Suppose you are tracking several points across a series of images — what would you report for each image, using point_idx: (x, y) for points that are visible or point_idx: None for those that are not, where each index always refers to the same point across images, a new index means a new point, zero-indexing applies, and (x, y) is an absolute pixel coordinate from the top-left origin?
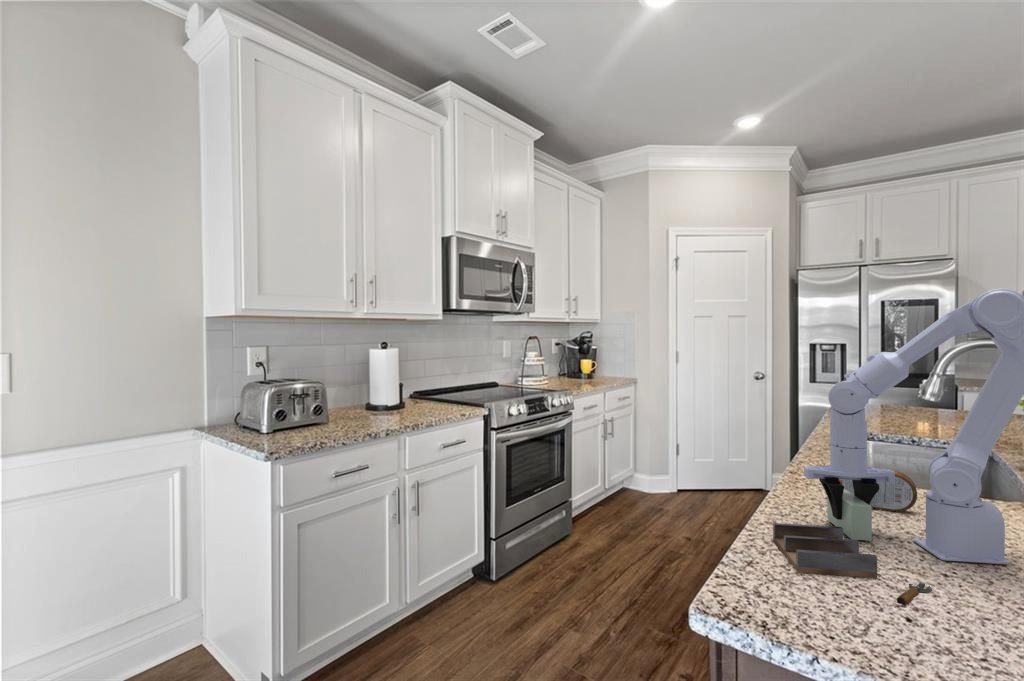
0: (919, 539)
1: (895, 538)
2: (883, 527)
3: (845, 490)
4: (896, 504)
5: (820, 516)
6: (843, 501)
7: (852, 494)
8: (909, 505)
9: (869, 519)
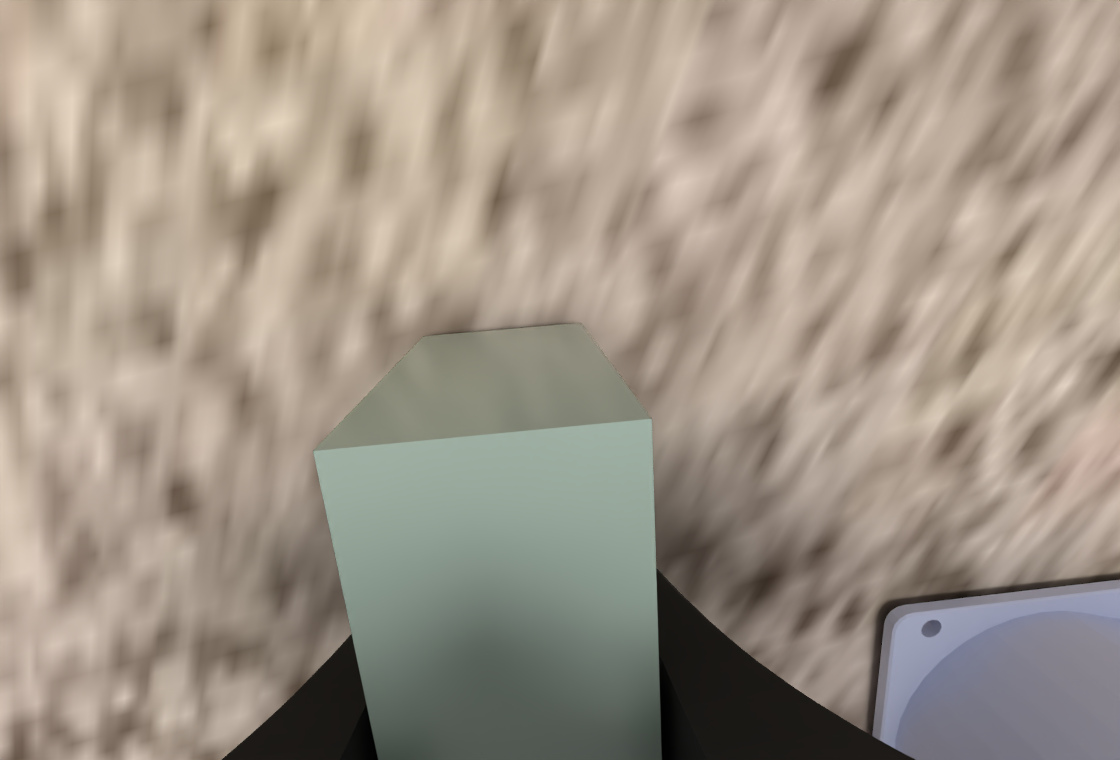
0: (929, 618)
1: (801, 574)
2: (839, 370)
3: (626, 491)
4: None
5: (398, 201)
6: None
7: (651, 684)
8: None
9: None
